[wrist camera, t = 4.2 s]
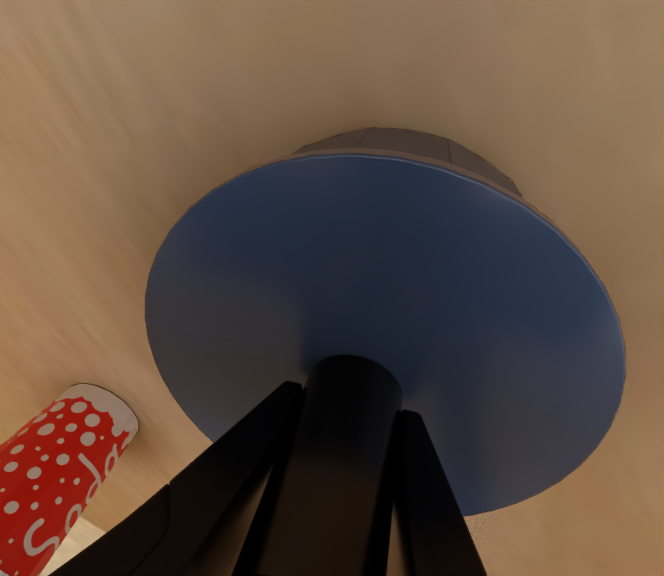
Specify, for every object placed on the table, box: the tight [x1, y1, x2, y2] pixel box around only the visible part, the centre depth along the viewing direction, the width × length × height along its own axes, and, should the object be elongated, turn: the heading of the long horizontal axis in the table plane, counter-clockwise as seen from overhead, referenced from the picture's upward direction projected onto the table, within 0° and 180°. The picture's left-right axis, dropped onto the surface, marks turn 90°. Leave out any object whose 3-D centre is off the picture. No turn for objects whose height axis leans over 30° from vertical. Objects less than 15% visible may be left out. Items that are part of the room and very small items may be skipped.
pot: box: [292, 127, 522, 198], centre depth 12 cm, size 11×11×4 cm
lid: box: [145, 148, 626, 576], centre depth 8 cm, size 11×11×6 cm
